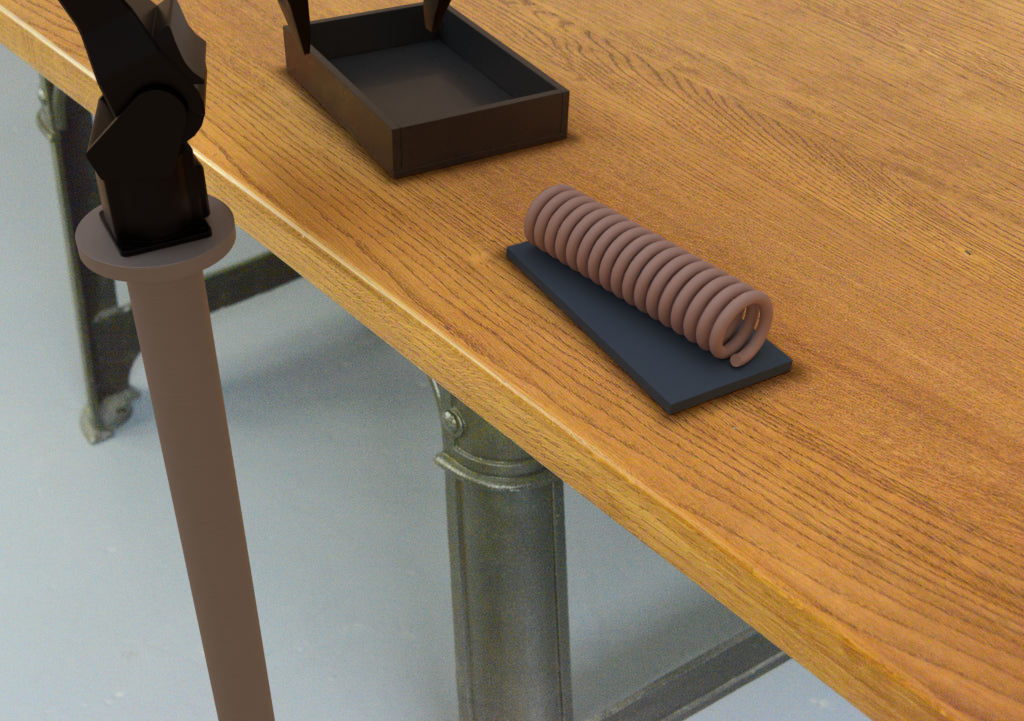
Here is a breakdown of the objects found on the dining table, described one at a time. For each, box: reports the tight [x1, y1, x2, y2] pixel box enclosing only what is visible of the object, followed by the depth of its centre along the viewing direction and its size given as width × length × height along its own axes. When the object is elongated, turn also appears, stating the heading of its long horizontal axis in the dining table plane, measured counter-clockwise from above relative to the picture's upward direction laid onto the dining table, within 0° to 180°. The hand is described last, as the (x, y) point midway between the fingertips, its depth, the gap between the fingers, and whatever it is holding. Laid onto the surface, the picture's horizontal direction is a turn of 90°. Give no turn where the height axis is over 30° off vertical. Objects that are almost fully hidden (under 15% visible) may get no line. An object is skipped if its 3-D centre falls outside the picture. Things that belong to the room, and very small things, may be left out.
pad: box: [505, 233, 794, 416], centre depth 74 cm, size 9×19×1 cm, turn 30°
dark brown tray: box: [282, 1, 571, 180], centre depth 96 cm, size 15×22×4 cm
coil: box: [523, 183, 774, 367], centre depth 72 cm, size 5×5×18 cm
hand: (369, 41), depth 77 cm, fingers open, 9 cm apart
